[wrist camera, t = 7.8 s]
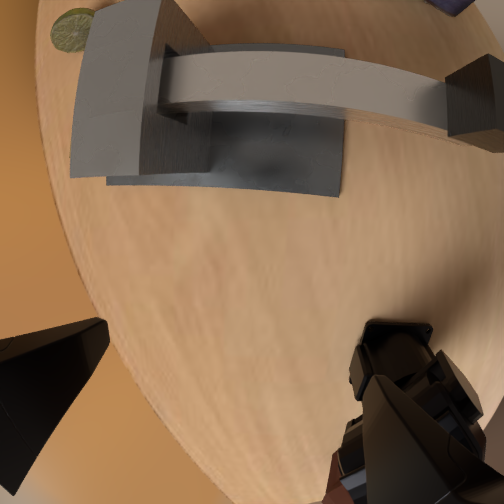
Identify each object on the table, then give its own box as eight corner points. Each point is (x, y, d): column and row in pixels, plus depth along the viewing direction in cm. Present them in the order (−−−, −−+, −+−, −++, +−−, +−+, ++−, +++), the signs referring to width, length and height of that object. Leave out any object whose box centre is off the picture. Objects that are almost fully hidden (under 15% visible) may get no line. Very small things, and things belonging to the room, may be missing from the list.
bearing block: (343, 52, 16) (372, -26, 6) (337, 196, 19) (377, 220, 9) (121, 63, 18) (40, 27, 8) (110, 184, 21) (17, 200, 12)
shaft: (467, 104, 10) (536, 83, 5) (468, 153, 11) (542, 153, 5) (144, 74, 13) (74, 39, 7) (138, 121, 14) (61, 105, 8)
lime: (116, 21, 17) (85, 2, 12) (87, 62, 18) (52, 50, 14) (93, 14, 17) (64, -3, 12) (66, 51, 18) (34, 40, 13)
